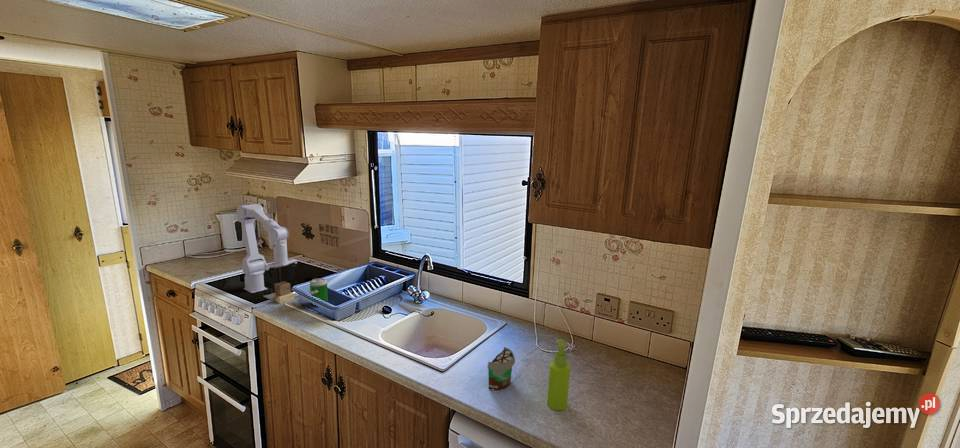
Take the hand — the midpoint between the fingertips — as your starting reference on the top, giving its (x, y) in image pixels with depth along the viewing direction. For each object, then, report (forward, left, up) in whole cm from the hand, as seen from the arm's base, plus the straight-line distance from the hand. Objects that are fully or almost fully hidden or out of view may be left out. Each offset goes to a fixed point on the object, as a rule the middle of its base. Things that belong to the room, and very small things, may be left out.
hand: (282, 281), depth 191 cm
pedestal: (0, 0, -9) cm, 9 cm away
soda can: (+17, +9, -10) cm, 21 cm away
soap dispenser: (+138, +12, -10) cm, 138 cm away
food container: (+120, +10, -10) cm, 120 cm away
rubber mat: (-4, +2, -10) cm, 11 cm away
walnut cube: (0, 0, -6) cm, 6 cm away
